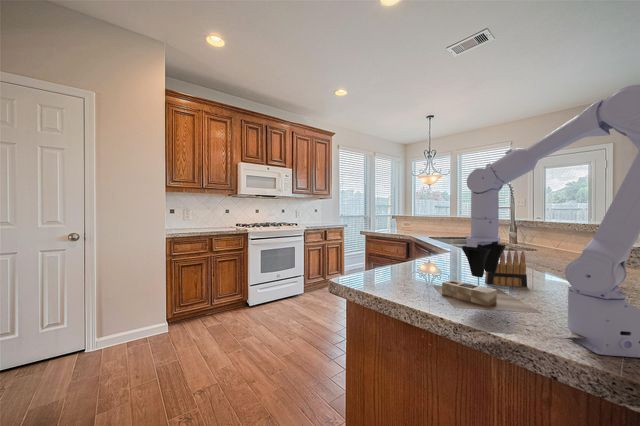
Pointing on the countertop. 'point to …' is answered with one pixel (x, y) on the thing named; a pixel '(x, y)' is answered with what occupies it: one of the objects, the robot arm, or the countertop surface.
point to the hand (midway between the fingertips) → (484, 274)
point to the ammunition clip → (509, 271)
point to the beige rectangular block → (470, 292)
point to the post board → (502, 304)
